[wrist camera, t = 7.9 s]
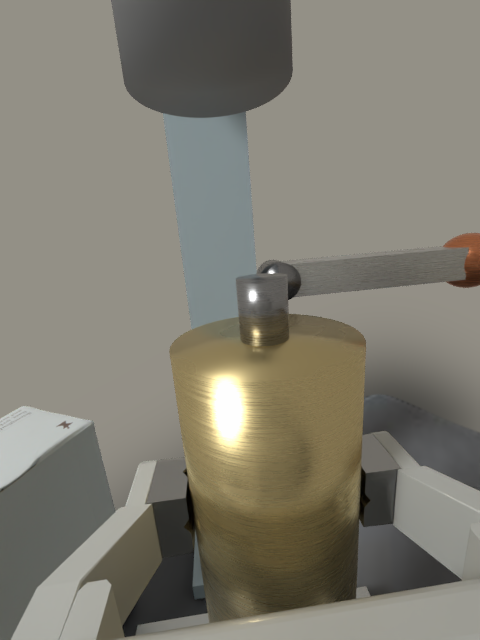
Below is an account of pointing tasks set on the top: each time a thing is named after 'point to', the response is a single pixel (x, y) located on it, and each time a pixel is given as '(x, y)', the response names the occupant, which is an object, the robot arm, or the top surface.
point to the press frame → (207, 128)
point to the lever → (383, 268)
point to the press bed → (201, 619)
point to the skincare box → (45, 501)
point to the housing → (272, 452)
